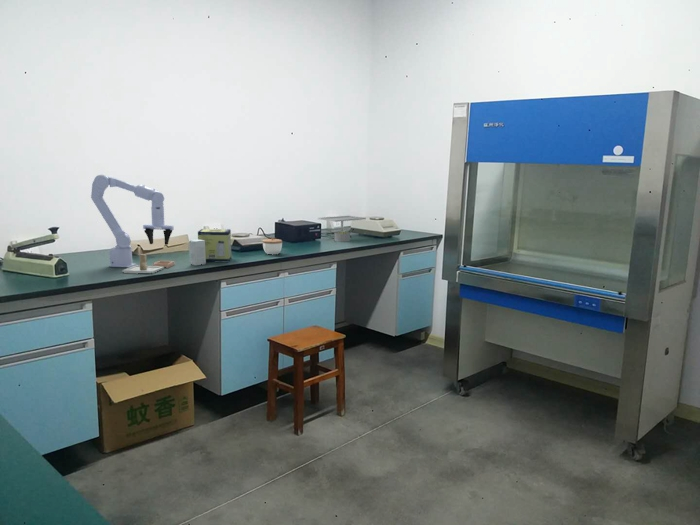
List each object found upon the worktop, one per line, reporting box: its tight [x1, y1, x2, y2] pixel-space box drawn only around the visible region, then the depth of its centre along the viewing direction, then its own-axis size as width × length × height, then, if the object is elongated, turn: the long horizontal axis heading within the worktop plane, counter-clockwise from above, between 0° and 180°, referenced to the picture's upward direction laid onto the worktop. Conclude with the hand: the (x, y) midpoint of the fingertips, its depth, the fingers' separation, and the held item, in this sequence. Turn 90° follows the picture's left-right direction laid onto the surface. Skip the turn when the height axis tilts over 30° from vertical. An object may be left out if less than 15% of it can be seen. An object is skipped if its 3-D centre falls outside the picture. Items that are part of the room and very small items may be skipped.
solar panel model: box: [317, 215, 367, 243], centre depth 367 cm, size 28×17×15 cm, turn 133°
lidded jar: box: [262, 236, 283, 256], centre depth 310 cm, size 11×11×9 cm
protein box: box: [197, 228, 232, 263], centre depth 288 cm, size 10×16×16 cm
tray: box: [121, 264, 164, 274], centre depth 258 cm, size 14×12×1 cm
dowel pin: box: [138, 253, 148, 270], centre depth 257 cm, size 3×3×7 cm
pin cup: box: [152, 260, 176, 269], centre depth 270 cm, size 7×7×2 cm
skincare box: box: [189, 239, 207, 266], centre depth 276 cm, size 6×4×12 cm
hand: (159, 244), depth 273 cm, fingers open, 7 cm apart
